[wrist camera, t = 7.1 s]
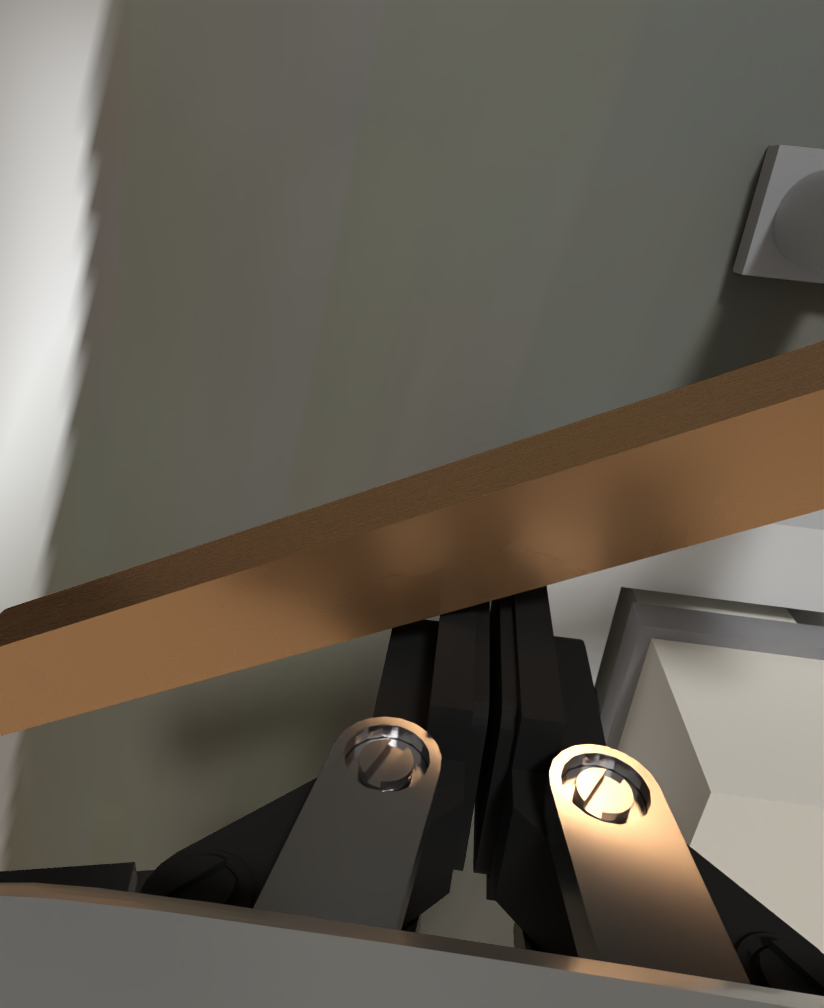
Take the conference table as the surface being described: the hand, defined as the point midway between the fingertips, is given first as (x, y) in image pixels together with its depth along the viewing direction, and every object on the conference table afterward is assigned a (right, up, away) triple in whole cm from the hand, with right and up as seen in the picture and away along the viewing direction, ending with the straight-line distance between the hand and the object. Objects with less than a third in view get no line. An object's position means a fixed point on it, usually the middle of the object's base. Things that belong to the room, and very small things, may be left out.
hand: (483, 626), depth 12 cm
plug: (+8, -2, +13) cm, 16 cm away
